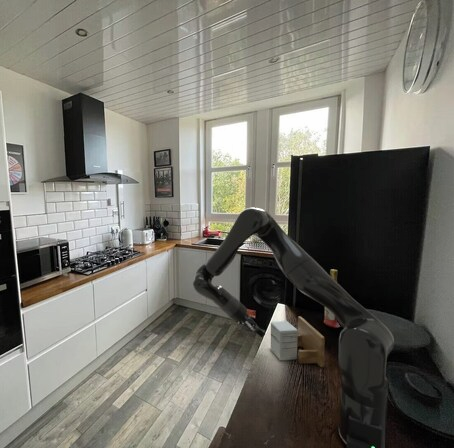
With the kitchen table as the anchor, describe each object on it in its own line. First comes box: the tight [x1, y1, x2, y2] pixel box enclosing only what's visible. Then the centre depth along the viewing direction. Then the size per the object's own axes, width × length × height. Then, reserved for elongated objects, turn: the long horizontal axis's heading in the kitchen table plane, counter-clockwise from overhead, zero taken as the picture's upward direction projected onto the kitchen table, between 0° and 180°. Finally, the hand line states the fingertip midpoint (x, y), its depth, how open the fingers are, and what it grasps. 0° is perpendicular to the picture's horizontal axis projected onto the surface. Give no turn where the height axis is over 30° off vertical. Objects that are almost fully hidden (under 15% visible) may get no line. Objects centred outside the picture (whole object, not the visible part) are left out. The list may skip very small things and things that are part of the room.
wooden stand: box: [297, 316, 326, 368], centre depth 100 cm, size 8×16×12 cm, turn 178°
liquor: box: [323, 268, 341, 329], centre depth 118 cm, size 7×7×28 cm
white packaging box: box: [270, 320, 298, 361], centre depth 100 cm, size 7×7×13 cm
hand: (262, 334), depth 100 cm, fingers closed
